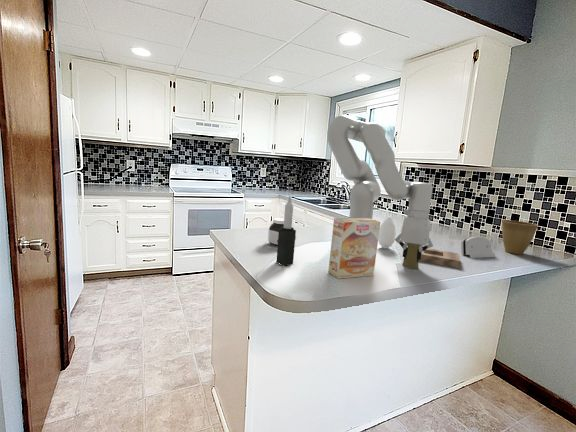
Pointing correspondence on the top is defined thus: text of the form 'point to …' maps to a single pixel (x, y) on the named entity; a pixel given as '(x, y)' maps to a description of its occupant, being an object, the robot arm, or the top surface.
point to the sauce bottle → (387, 233)
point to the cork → (411, 256)
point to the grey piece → (476, 247)
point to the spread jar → (275, 231)
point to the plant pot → (517, 235)
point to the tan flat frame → (441, 257)
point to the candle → (286, 237)
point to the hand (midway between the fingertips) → (411, 259)
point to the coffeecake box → (353, 247)
